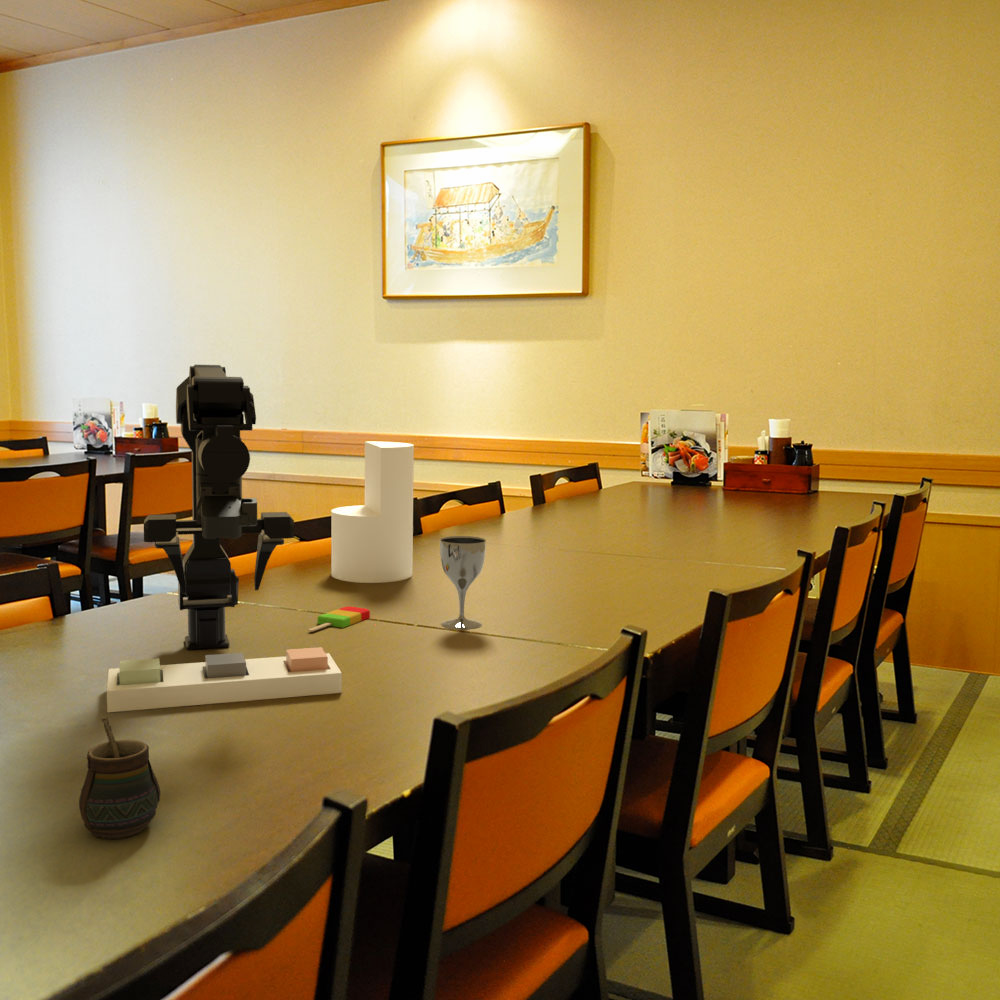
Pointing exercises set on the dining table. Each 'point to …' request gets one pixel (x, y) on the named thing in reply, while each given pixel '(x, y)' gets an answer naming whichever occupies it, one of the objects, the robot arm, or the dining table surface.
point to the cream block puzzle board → (221, 685)
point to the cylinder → (377, 520)
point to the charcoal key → (225, 665)
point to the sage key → (139, 671)
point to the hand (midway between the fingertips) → (220, 591)
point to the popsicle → (342, 617)
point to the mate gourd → (118, 788)
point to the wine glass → (462, 571)
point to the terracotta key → (306, 659)
